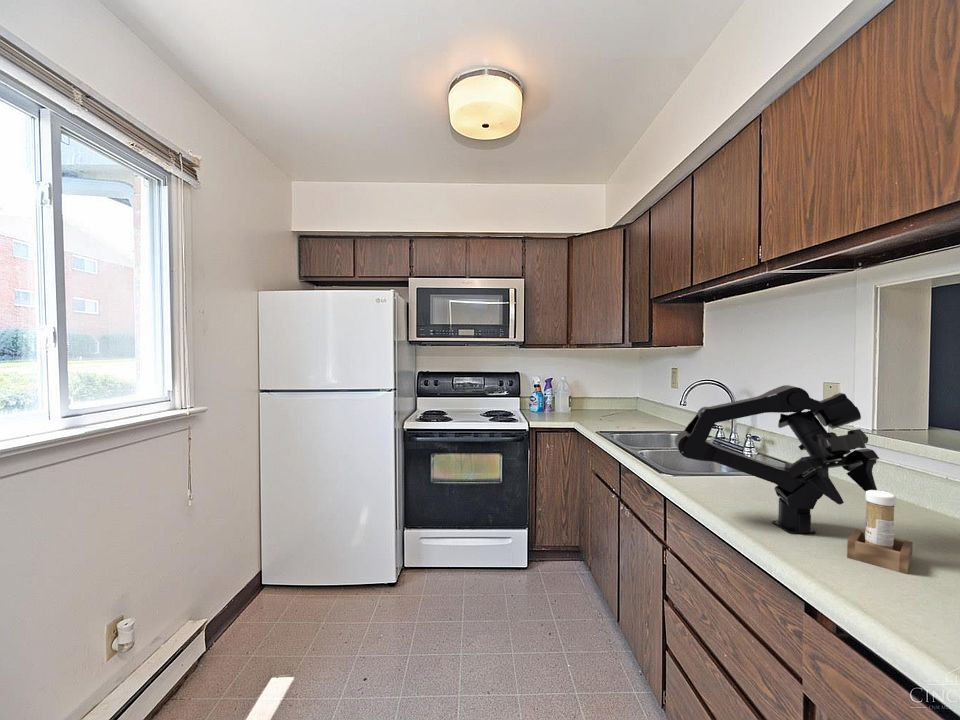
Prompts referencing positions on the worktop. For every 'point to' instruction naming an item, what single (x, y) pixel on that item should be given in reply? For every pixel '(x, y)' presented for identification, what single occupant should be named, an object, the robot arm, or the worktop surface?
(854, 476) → the robot arm
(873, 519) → the sprinkles bottle
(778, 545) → the worktop surface
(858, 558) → the walnut collar
